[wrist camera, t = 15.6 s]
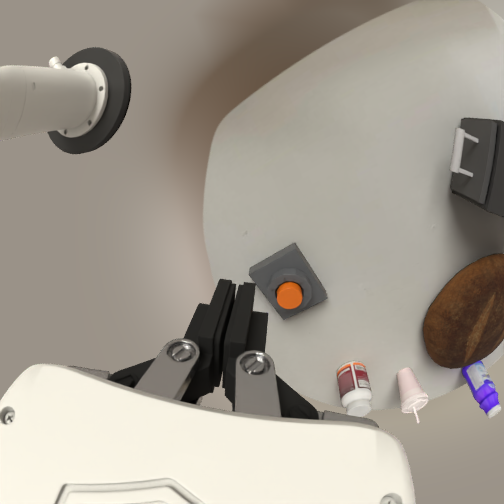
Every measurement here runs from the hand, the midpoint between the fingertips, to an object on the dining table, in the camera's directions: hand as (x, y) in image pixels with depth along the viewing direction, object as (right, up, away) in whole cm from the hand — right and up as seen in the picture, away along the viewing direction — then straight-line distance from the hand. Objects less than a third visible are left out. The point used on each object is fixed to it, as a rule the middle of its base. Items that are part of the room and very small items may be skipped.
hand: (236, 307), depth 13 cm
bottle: (+58, -27, +36) cm, 73 cm away
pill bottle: (+21, -22, +38) cm, 49 cm away
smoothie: (+35, -25, +38) cm, 57 cm away
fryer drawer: (+36, +17, +17) cm, 43 cm away
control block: (+7, -2, +30) cm, 31 cm away
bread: (+47, -9, +29) cm, 56 cm away
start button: (+6, -3, +27) cm, 28 cm away
